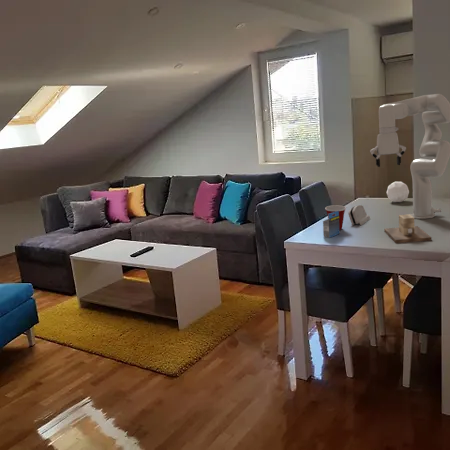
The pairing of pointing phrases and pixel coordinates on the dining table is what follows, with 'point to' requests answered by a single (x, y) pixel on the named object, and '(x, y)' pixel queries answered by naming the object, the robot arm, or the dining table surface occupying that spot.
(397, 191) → the geodesic sphere
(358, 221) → the white rounded slab
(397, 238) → the stub plate
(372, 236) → the dining table surface
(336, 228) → the label tape box
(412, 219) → the maple block
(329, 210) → the plastic cup
